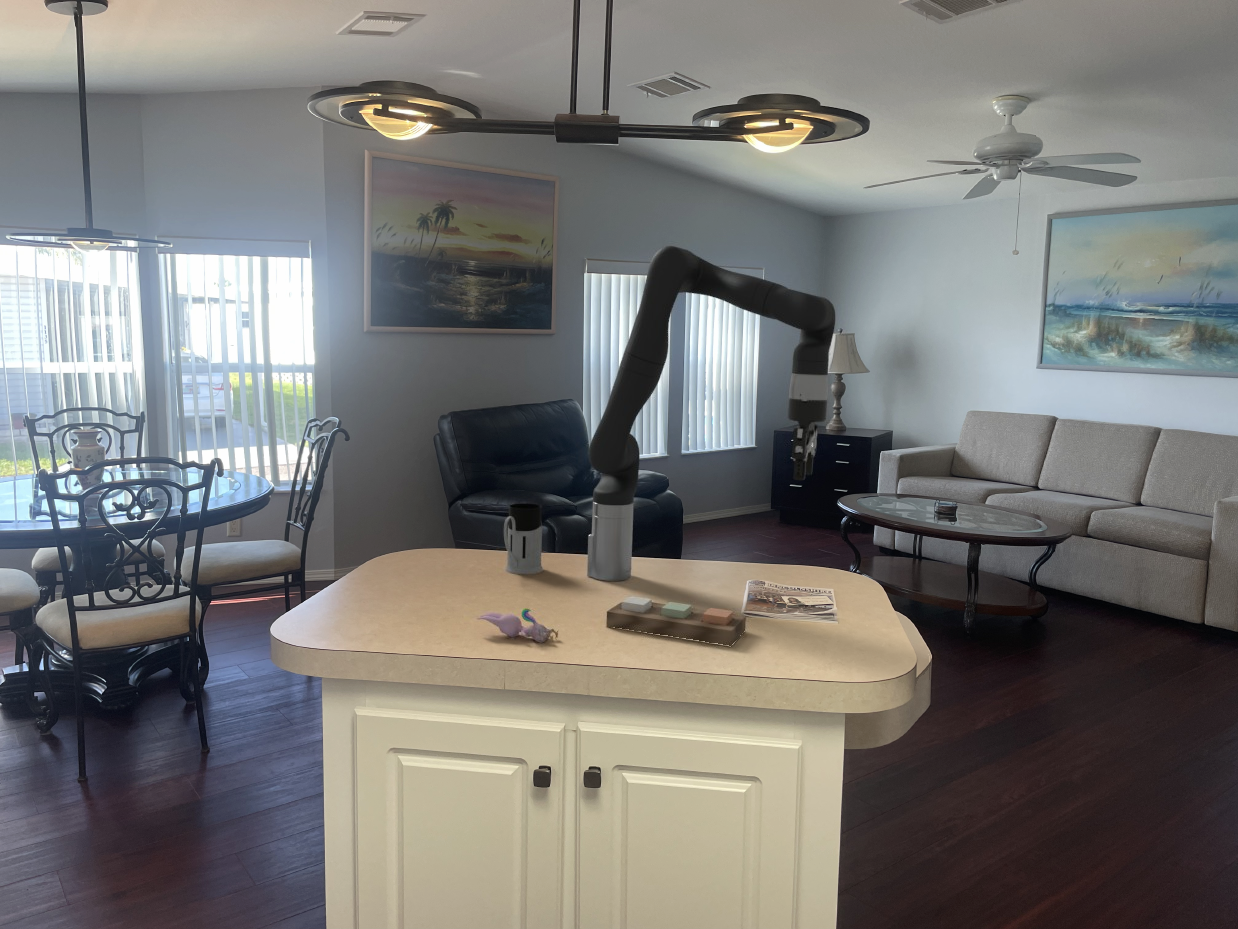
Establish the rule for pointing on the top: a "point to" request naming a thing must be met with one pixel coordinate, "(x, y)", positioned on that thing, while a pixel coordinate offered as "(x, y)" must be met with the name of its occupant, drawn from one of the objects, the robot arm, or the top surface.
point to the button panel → (676, 624)
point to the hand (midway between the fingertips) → (802, 477)
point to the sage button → (676, 610)
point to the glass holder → (524, 538)
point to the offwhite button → (636, 604)
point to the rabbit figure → (519, 626)
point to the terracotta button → (718, 616)
